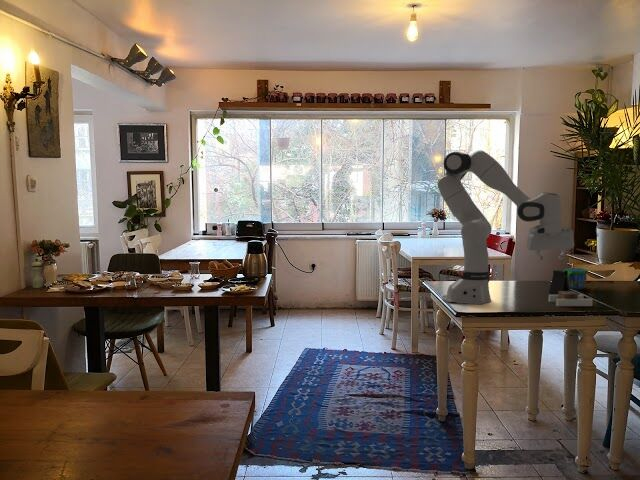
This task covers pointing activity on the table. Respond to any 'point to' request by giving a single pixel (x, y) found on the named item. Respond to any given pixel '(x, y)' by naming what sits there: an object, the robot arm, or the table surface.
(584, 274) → the snack cup
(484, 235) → the robot arm
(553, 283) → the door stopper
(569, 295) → the walnut block
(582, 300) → the chute
